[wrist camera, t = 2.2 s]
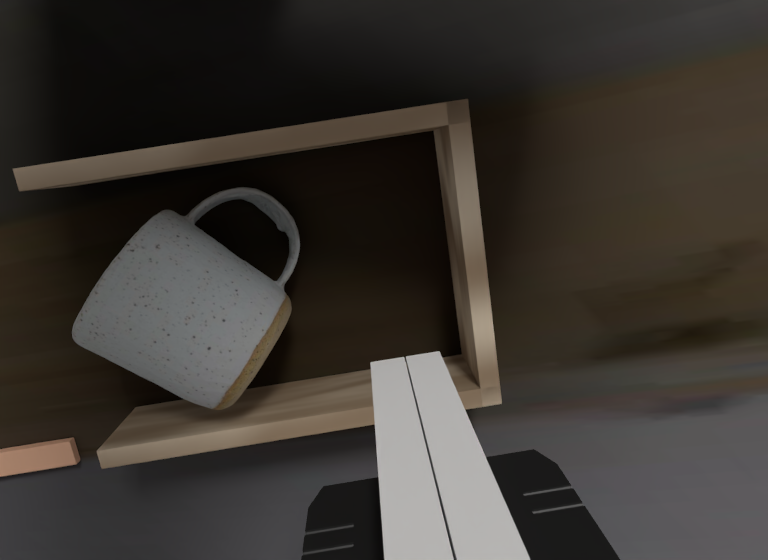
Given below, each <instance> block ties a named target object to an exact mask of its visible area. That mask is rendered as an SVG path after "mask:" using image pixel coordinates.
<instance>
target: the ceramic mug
mask: <svg viewBox="0 0 768 560" xmlns="http://www.w3.org/2000/svg"><path fill="white" fill-rule="evenodd" d="M235 199H243V200H245V201H247V202H251V203H253V204H254V205H255V206H256V207H258V208H259V209H260V210H261V211H263V212H264V213H265V214H267V215H268V216H269V217H270V218H271V219H272V220H273V221H274V222H275V223H276V225H277V228H278V229H279V230H280V231H285V233H286V234H287V236H288V238H289V251H290V253H289V257H288V259H287V264H286V266H285V268H284V270H283V273H282V275H281V276H280V277H279V279H278V280H277V281H273V280H272V279H270V278H269V277H268V276H266V275H265V274H263V273H262V272H260V271H259V270H257V269H256V268H254V267H253V266H251V265H250V264H249V263H247V262H246V261H244V260H242V259H240V258H239V257H238V256H236V255H235V254H234V253H232V252H231V251H229V250H228V249H227V248H226V247H225V246H223V245H222V244H220V243H219V242H218V241H216V240H215V239H214V238H212V237H211V236H209V235H207V234H206V233H205V232H204V231H203V230H201V229H199V228H198V227H197V226H195V225H194V224H195V222H196V221H197V220H198V219H199V218H200V217H201V216H203V215H204V214H205V213H206V212H208V211H209V210H210V209H212V208H214V207H216V206H217V205H219V204H221V203H224V202H227V201H230V200H235ZM299 250H300V239H299V232H298V229H297V226H296V224H295V221H294V219H293V217H292V216H291V215H290V214H289V211H288V210H287V209H286V208H285V207H284V206H283V205H282V204H281V203H279V202H278V201H277V200H276V199H275V198H273V197H272V196H271V195H269V194H267V193H265V192H263V191H260V190H258V189H254V188H248V187H237V188H232V189H227V190H223V191H219V192H217V193H215V194H214V195H212V196H210V197H208V198H207V199H205V200H203V201H202V202H201V203H200V204H198V205H197V206H196V207H195V208H193V209H192V210H191V211H190V212H189V213H188V214H187V215H186V216H181V215H179V214H177V213H176V212H174V211H172V210H162V211H161V212H159V213H158V214H157V215H155V216H153V217H152V218H151V219H150V220H149V221H148V222H146V223H145V224H144V225H143V226H142V227H141V228H140V229H139V231H138V232H136V233H135V234H134V236H133V237H132V238H131V239H130V240H129V241H128V243H127V244H126V245H125V246H124V247H123V249H122V250H121V251H120V253H119V254H118V255H117V256H116V257H115V258H114V260H113V261H112V262H111V264H110V265H109V266H108V268H107V269H106V270H105V271H104V273H103V275H102V276H101V278H100V279H99V281H98V282H97V284H96V285H95V287H94V288H93V290H92V291H91V293H90V295H89V297H88V298H87V300H86V302H85V304H84V305H83V307H82V309H81V311H80V313H79V314H78V316H77V318H76V320H75V322H74V324H73V328H72V337H73V340H74V341H75V342H76V343H77V344H78V345H80V346H81V347H83V348H85V349H87V350H89V351H92V352H94V353H96V354H98V355H100V356H102V357H104V358H106V359H108V360H110V361H111V362H113V363H115V364H117V365H119V366H121V367H123V368H125V369H127V370H129V371H131V372H133V373H135V374H137V375H138V376H140V377H143V378H145V379H147V380H149V381H151V382H153V383H155V384H157V385H159V386H161V387H163V388H164V389H166V390H168V391H170V392H172V393H174V394H175V395H177V396H179V397H181V398H183V399H185V400H187V401H190V402H192V403H194V404H198V405H201V406H204V407H208V408H211V409H214V410H222V409H225V408H228V407H230V406H232V405H233V404H234V403H235V402H236V401H237V400H238V399H239V397H240V396H241V395H242V394H243V392H244V391H245V389H246V388H247V387H248V385H249V384H250V383H251V381H252V380H253V379H254V377H255V376H256V374H257V373H258V371H259V369H260V368H261V366H262V365H263V363H264V361H265V360H266V358H267V357H268V355H269V353H270V352H271V350H272V348H273V347H274V345H275V343H276V342H277V340H278V338H279V337H280V335H281V333H282V331H283V329H284V327H285V326H286V324H287V321H288V319H289V317H290V315H291V311H292V307H291V301H290V298H289V297H288V295H287V294H286V293H285V292H284V285H285V283H286V282H287V280H288V279H289V278H290V276H291V274H292V273H293V270H294V268H295V265H296V263H297V260H298V255H299Z"/></svg>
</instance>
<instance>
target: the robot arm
mask: <svg viewBox="0 0 768 560" xmlns="http://www.w3.org/2000/svg"><path fill="white" fill-rule="evenodd" d="M406 362H407V366H406ZM406 362H405V358H404V357H400V358H394V359H388V360H381V361H375V362H370V364H371V378H372V392H373V406H374V421H375V435H376V449H377V463H378V477H377V478H371V479H365V480H359V481H353V482H347V483H341V484H335V485H329V486H323V488H322V489H321V491H320V492H319V493H318V495H317V496H316V498H315V499H314V501H313V502H312V503H311V505H310V506H309V508H308V515H307V522H306V530H305V532H306V535H305V537H304V544H303V556H302V559H301V560H620V559H619V557H618V556H617V554H616V553H615V551H614V550H613V548H612V546H611V545H610V543H609V542H608V540H607V539H606V537H605V536H604V534H603V533H602V531H601V530H600V528H599V527H598V525H597V524H596V522H595V521H594V519H593V518H592V516H591V515H590V513H589V512H588V510H587V509H586V507H585V506H583V504H582V501H581V500H580V498H579V496H578V495H577V493H576V492H575V490H574V489H572V488H571V484H570V483H569V481H568V480H567V478H566V477H565V475H564V474H563V472H562V471H561V469H560V468H559V466H558V465H557V464H556V463H555V462H553V461H551V460H550V459H548V458H547V457H545V456H544V455H542V454H540V453H539V452H537V451H536V450H534V449H533V450H527V451H521V452H515V453H509V454H503V455H497V456H491V457H485V454H484V452H483V450H482V447H481V445H480V443H479V441H478V438H477V436H476V434H475V431H474V429H473V427H472V424H471V422H470V420H469V418H468V415H467V413H466V411H465V408H464V406H463V404H462V402H461V399H460V397H459V395H458V392H457V390H456V388H455V385H454V383H453V381H452V379H451V376H450V374H449V372H448V369H447V367H446V365H445V363H444V360H443V358H442V356H441V353H440V351H437V352H431V353H425V354H419V355H412V356H406ZM407 368H408V370H407Z"/></svg>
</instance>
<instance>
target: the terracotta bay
mask: <svg viewBox="0 0 768 560" xmlns="http://www.w3.org/2000/svg"><path fill="white" fill-rule="evenodd" d="M80 460H81V459H80V456H79V453H78V449H77V446H76V443H75V439H74V437H72V438H66V439H59V440H53V441H47V442H41V443H35V444H29V445H22V446H16V447H10V448H4V449H0V477H1V476H8V475H14V474H20V473H26V472H32V471H38V470H44V469H51V468H57V467H63V466H69V465H75V464H77V463H78V462H79V461H80Z"/></svg>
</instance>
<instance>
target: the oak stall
mask: <svg viewBox="0 0 768 560" xmlns="http://www.w3.org/2000/svg"><path fill="white" fill-rule="evenodd" d="M427 131H434V139H435V147H436V155H437V162H438V170H439V178H440V186H441V194H442V202H443V210H444V218H445V225H446V233H447V241H448V249H449V257H450V265H451V273H452V281H453V289H454V296H455V304H456V312H457V320H458V328H459V336H460V344H461V352H462V354H461V355H455V356H449V357H443V360H444V363H445V365H446V367H447V369H448V372H449V374H450V376H451V379H452V381H453V383H454V385H455V388H456V390H457V392H458V395H459V397H460V399H461V402H462V404H463V406H464V408H465V410H466V409H472V408H479V407H485V406H491V405H497V404H502V400H501V391H500V382H499V373H498V364H497V355H496V346H495V337H494V328H493V319H492V310H491V301H490V292H489V283H488V275H487V266H486V257H485V248H484V239H483V230H482V221H481V212H480V203H479V194H478V185H477V176H476V167H475V158H474V149H473V141H472V132H471V123H470V114H469V105H468V99H463V100H456V101H450V102H443V103H437V104H430V105H424V106H417V107H411V108H404V109H398V110H391V111H385V112H378V113H372V114H365V115H359V116H352V117H346V118H339V119H333V120H326V121H320V122H313V123H307V124H300V125H294V126H287V127H281V128H274V129H268V130H262V131H255V132H249V133H242V134H236V135H229V136H223V137H216V138H210V139H203V140H197V141H190V142H184V143H177V144H171V145H164V146H158V147H151V148H145V149H138V150H132V151H125V152H119V153H112V154H106V155H99V156H93V157H86V158H80V159H73V160H67V161H60V162H54V163H48V164H41V165H35V166H28V167H22V168H15V169H13V172H14V175H15V179H16V182H17V185H18V189H19V191H29V190H39V189H49V188H60V187H70V186H78V185H85V184H91V183H98V182H104V181H111V180H117V179H124V178H130V177H136V176H143V175H149V174H156V173H162V172H169V171H175V170H182V169H188V168H195V167H201V166H207V165H214V164H220V163H227V162H233V161H240V160H246V159H253V158H259V157H265V156H272V155H278V154H285V153H291V152H298V151H304V150H311V149H317V148H324V147H330V146H336V145H343V144H349V143H356V142H362V141H369V140H375V139H382V138H388V137H395V136H401V135H407V134H414V133H420V132H427ZM406 366H407V363H406ZM407 370H408V368H407ZM374 424H375V421H374V406H373V392H372V378H371V369H368V370H362V371H356V372H350V373H343V374H337V375H331V376H325V377H319V378H313V379H306V380H300V381H294V382H288V383H282V384H275V385H269V386H263V387H257V388H251V389H245V391H244V392H243V394H242V395H241V396H240V397H239V399H238V400H237V401H236V402H235V403H234V404H233V405H232V406H230V407H228V408H225V409H222V410H214V409H211V408H208V407H204V406H201V405H198V404H194V403H192V402H190V401H187V400H185V399H183V400H176V401H170V402H164V403H158V404H152V405H145V406H139V407H135V408H134V410H133V411H132V412H131V413H130V414H129V415H128V416H127V417H126V419H125V420H124V421H123V422H122V423H121V424H120V425H119V426H118V428H117V429H116V430H115V431H114V432H113V433H112V434H111V435H110V437H109V438H108V439H107V440H106V441H105V442H104V443H103V444H102V446H101V447H100V448H99V449H98V450H97V455H98V458H99V462H100V465H101V468H102V469H105V468H111V467H117V466H123V465H129V464H135V463H142V462H148V461H154V460H160V459H166V458H172V457H178V456H184V455H191V454H197V453H203V452H209V451H215V450H221V449H227V448H233V447H240V446H246V445H252V444H258V443H264V442H270V441H276V440H282V439H289V438H295V437H301V436H307V435H313V434H319V433H325V432H332V431H338V430H344V429H350V428H356V427H362V426H368V425H374Z"/></svg>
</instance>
